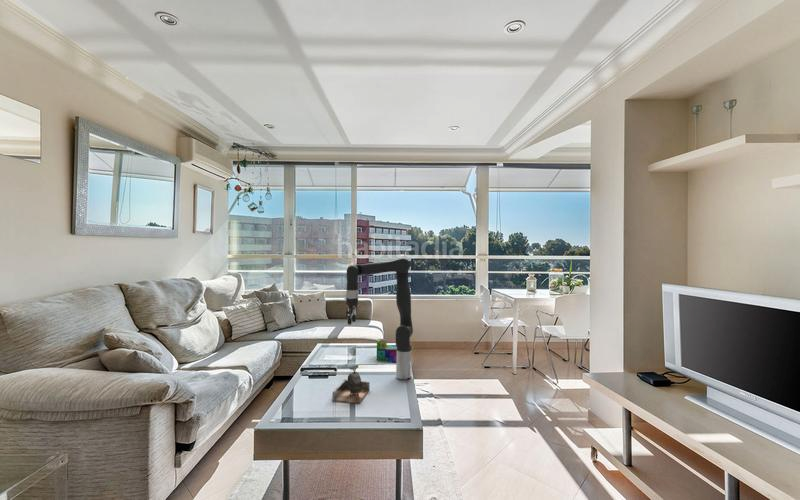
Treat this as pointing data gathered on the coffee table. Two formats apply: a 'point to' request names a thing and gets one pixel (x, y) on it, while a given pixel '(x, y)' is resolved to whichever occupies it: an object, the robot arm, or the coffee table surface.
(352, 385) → the alarm clock
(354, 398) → the walnut plate
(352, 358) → the coffee table surface
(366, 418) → the coffee table surface
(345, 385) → the corner walls
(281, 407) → the coffee table surface
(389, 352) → the block puzzle
